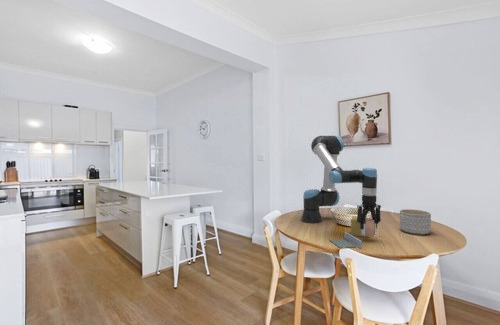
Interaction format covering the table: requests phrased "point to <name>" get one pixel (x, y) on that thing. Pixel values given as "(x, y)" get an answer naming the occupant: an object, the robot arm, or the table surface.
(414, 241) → the table surface
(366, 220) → the pink rounded cylinder
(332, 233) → the table surface
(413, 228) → the planter
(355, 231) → the cheese
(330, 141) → the robot arm
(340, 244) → the mat
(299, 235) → the table surface
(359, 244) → the divider wall
